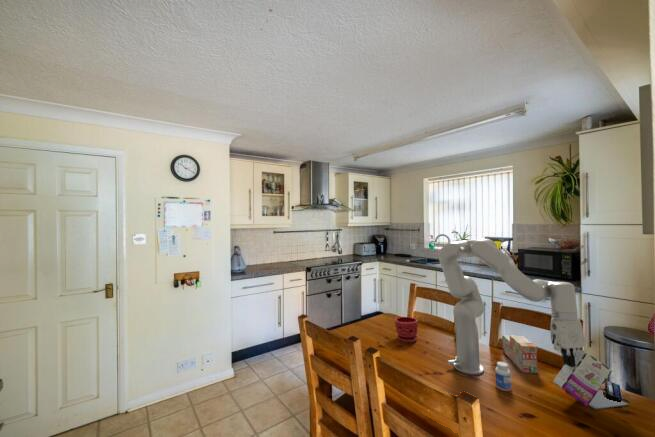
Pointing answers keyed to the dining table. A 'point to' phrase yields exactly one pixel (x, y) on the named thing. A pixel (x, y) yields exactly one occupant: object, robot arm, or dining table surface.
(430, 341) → the dining table surface
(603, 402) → the mat
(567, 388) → the candy bar box
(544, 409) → the dining table surface
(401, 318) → the plant pot
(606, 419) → the dining table surface
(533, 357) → the printed cardboard carton
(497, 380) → the pill bottle
